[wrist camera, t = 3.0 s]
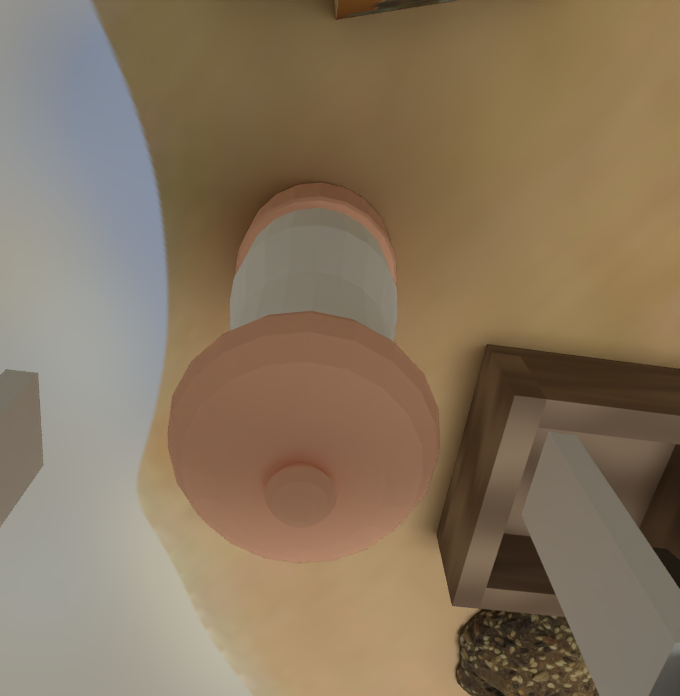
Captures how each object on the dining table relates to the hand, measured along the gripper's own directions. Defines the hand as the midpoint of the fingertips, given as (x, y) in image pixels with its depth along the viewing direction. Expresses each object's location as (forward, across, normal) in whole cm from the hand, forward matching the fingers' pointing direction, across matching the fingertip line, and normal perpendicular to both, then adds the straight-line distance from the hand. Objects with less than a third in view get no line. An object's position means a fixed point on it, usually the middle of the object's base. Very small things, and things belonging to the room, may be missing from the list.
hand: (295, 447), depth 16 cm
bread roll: (+17, +19, -25) cm, 36 cm away
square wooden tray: (+16, +16, -10) cm, 25 cm away
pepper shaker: (+17, 0, 0) cm, 17 cm away
